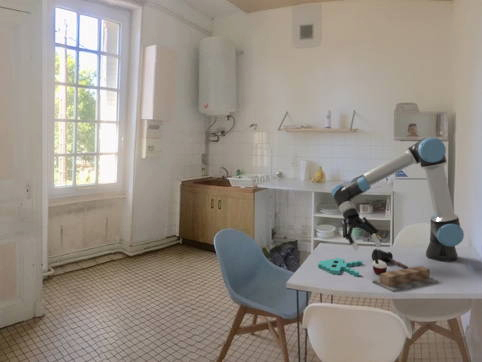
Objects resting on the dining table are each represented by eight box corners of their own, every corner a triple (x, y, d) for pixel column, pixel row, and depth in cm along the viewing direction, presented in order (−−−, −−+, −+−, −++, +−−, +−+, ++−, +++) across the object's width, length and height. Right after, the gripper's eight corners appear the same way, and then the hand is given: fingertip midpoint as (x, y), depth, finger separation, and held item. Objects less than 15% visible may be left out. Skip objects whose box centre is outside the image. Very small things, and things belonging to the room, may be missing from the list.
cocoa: (382, 271, 194) (383, 246, 193) (391, 274, 188) (392, 249, 187) (366, 273, 191) (366, 248, 190) (374, 276, 185) (375, 250, 184)
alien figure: (362, 264, 205) (322, 260, 212) (362, 260, 204) (322, 256, 212) (358, 277, 186) (315, 272, 193) (358, 272, 186) (315, 268, 193)
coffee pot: (369, 260, 210) (382, 260, 213) (393, 275, 193) (406, 275, 197) (373, 246, 209) (386, 247, 212) (397, 260, 192) (410, 261, 195)
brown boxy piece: (416, 274, 188) (416, 263, 188) (437, 282, 177) (438, 271, 177) (372, 282, 178) (372, 271, 177) (392, 291, 167) (392, 280, 166)
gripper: (364, 214, 214) (384, 248, 202) (325, 217, 205) (343, 254, 192) (372, 205, 209) (392, 240, 197) (332, 209, 199) (350, 246, 187)
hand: (368, 247), depth 194 cm, fingers open, 13 cm apart
